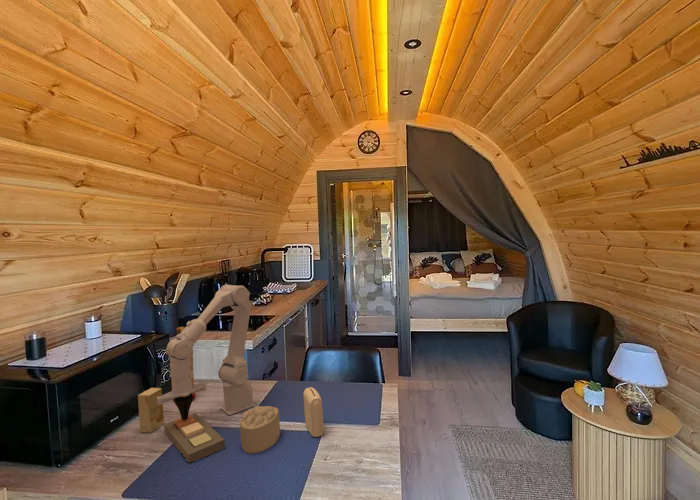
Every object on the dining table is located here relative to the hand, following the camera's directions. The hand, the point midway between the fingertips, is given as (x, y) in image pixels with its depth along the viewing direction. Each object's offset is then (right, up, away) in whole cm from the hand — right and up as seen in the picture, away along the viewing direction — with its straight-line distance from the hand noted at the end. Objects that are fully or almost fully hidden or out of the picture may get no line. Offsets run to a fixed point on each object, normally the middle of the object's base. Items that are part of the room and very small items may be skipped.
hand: (184, 418), depth 118 cm
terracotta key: (0, -2, 0) cm, 2 cm away
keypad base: (+5, -4, -5) cm, 8 cm away
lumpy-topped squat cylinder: (+26, -3, -8) cm, 27 cm away
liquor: (-10, -4, +24) cm, 27 cm away
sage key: (+9, -3, -10) cm, 14 cm away
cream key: (+5, -2, -5) cm, 7 cm away
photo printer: (+42, -2, -3) cm, 42 cm away
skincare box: (-12, -5, +4) cm, 14 cm away
